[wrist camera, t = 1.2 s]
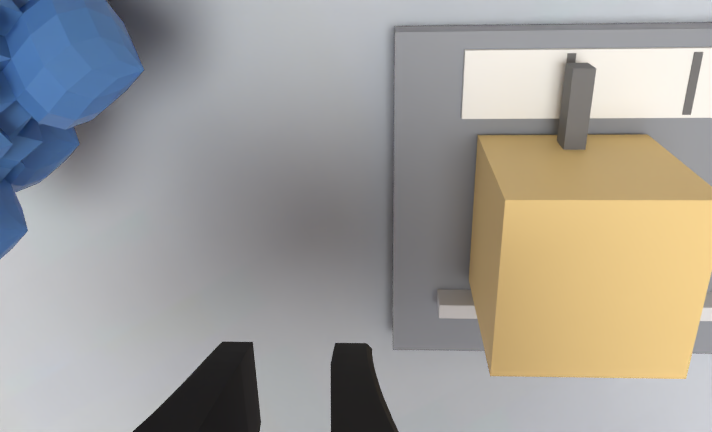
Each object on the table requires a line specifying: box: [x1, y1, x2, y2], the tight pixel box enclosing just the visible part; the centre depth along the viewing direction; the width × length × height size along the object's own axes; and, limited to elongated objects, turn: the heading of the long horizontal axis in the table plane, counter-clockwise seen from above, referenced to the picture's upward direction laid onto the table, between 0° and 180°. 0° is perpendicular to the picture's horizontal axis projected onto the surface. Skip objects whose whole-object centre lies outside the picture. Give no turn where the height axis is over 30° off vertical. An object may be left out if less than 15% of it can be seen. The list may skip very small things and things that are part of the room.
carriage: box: [469, 63, 712, 379], centre depth 18 cm, size 7×5×5 cm
